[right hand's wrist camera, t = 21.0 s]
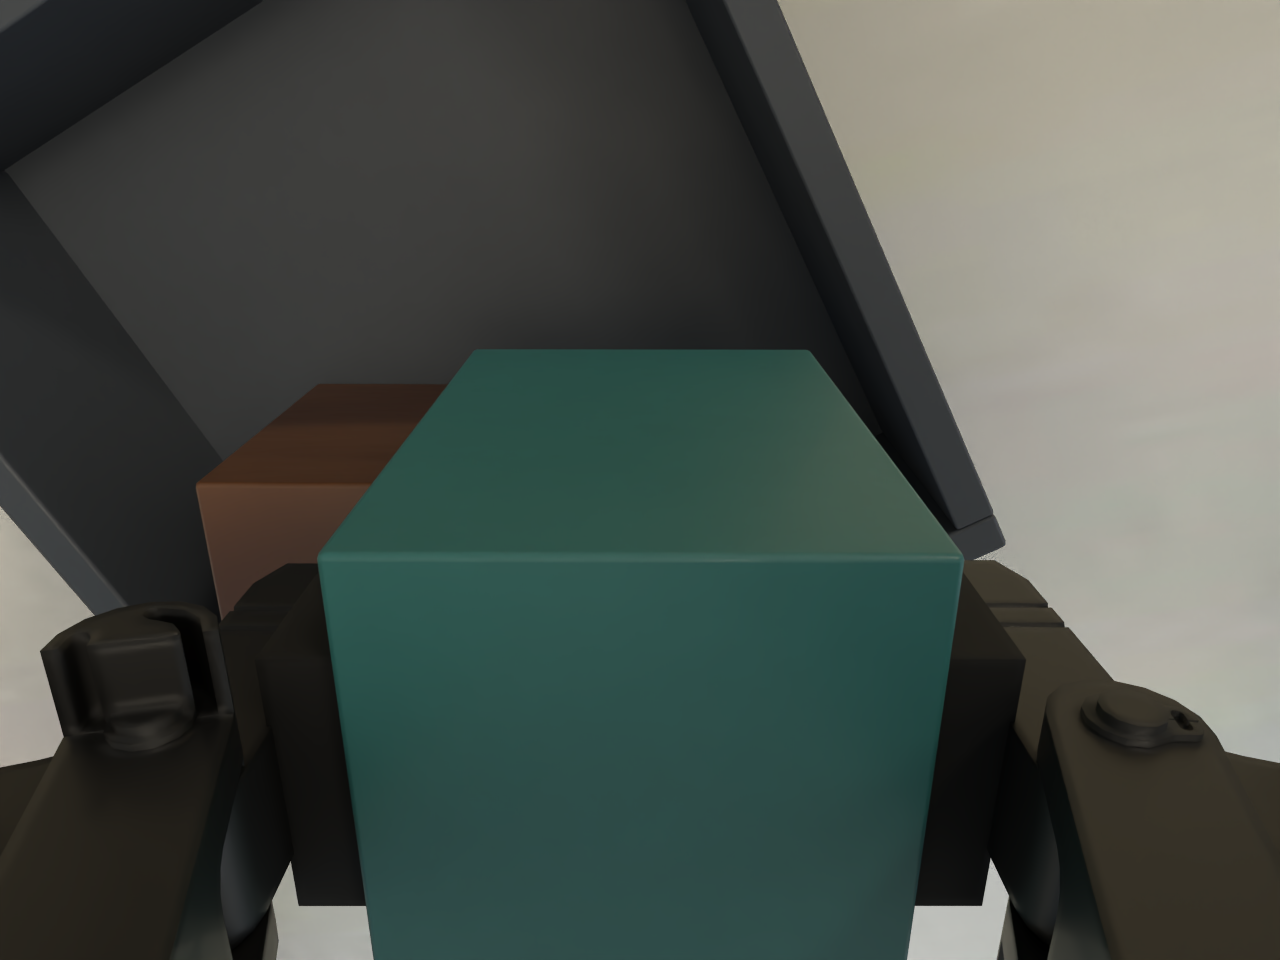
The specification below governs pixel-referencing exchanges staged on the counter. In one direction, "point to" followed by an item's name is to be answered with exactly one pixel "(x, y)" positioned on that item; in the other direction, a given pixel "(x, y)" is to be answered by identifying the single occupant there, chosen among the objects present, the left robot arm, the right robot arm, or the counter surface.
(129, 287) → the box
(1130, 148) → the counter surface
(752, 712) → the teal block
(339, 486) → the walnut block
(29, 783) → the right robot arm
